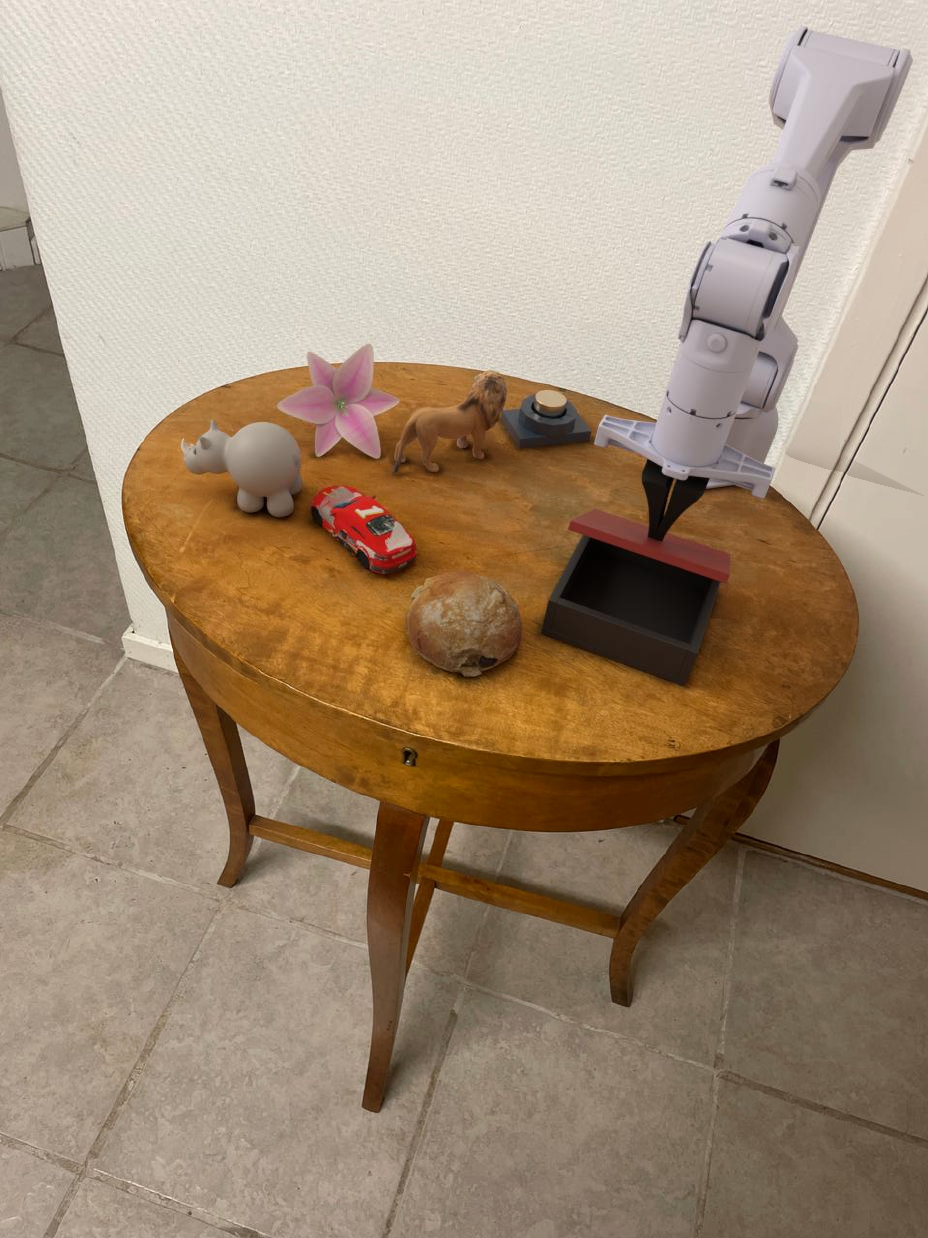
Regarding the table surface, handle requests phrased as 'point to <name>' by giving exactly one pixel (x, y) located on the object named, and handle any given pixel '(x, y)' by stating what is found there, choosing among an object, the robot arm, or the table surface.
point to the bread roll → (463, 622)
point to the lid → (653, 544)
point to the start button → (549, 404)
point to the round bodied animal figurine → (251, 464)
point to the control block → (544, 426)
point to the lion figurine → (456, 420)
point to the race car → (364, 528)
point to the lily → (341, 402)
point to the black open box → (631, 609)
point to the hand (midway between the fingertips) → (657, 533)
